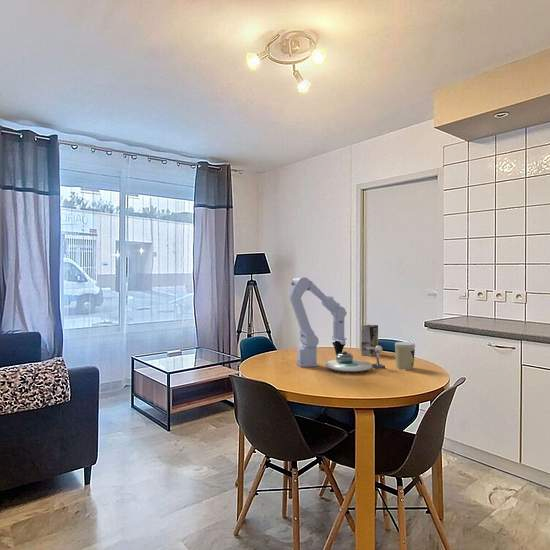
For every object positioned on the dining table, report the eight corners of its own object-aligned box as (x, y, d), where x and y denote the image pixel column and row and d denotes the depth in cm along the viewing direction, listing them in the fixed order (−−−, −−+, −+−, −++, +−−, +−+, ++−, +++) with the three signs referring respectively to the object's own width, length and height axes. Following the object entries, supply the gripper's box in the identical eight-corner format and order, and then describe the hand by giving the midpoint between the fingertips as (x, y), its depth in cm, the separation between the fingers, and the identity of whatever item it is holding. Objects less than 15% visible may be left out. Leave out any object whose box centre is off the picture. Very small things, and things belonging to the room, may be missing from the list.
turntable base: (336, 374, 192) (336, 371, 192) (324, 365, 210) (324, 362, 210) (374, 372, 195) (374, 369, 195) (359, 363, 213) (359, 360, 213)
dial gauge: (368, 369, 202) (368, 346, 202) (364, 366, 207) (364, 344, 207) (385, 368, 203) (385, 345, 203) (380, 366, 208) (380, 344, 208)
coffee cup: (416, 370, 198) (416, 345, 198) (395, 370, 200) (395, 344, 200) (413, 366, 207) (413, 341, 207) (394, 365, 209) (394, 341, 209)
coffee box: (371, 356, 231) (371, 326, 231) (360, 355, 235) (360, 326, 235) (378, 353, 238) (378, 325, 238) (367, 352, 242) (367, 324, 242)
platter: (334, 372, 190) (334, 370, 190) (319, 361, 211) (319, 360, 211) (380, 369, 194) (380, 368, 194) (361, 359, 215) (361, 358, 215)
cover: (339, 363, 203) (339, 353, 203) (334, 360, 211) (333, 350, 211) (355, 363, 205) (355, 353, 205) (349, 359, 213) (349, 350, 213)
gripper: (351, 331, 209) (351, 358, 210) (341, 327, 224) (341, 353, 224) (337, 331, 208) (337, 359, 208) (328, 327, 222) (328, 353, 222)
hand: (338, 356), depth 216 cm, fingers closed
